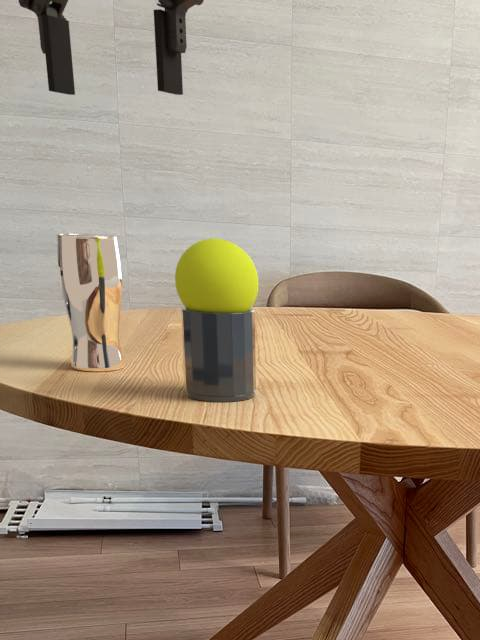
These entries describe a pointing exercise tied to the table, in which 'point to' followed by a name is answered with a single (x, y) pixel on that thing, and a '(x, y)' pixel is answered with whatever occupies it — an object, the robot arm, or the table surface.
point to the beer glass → (92, 298)
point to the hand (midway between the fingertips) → (114, 93)
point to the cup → (219, 355)
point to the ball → (216, 278)
